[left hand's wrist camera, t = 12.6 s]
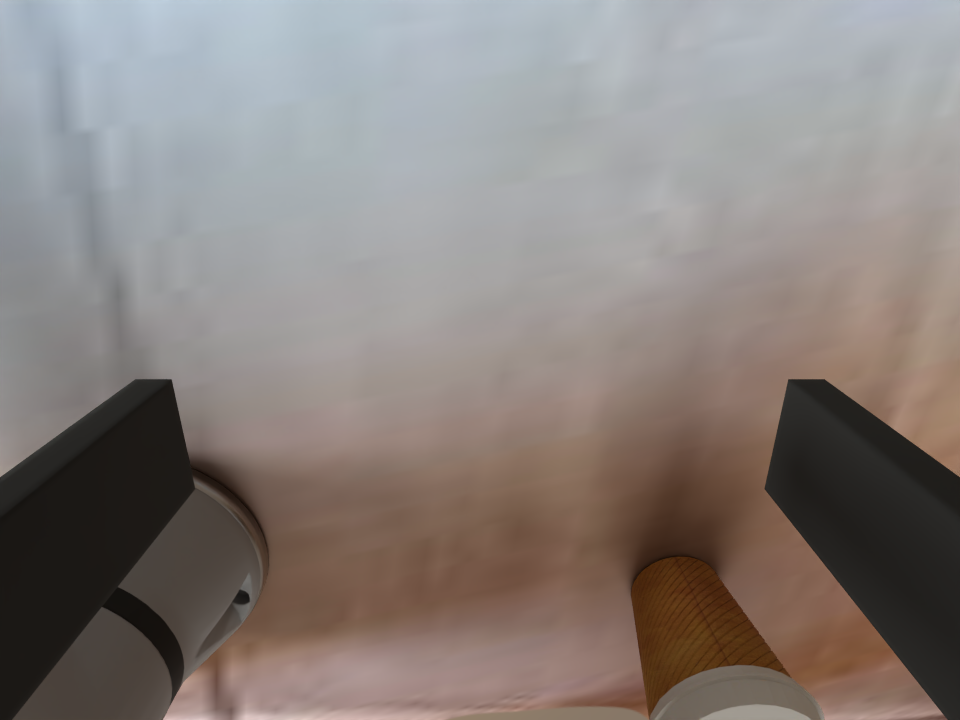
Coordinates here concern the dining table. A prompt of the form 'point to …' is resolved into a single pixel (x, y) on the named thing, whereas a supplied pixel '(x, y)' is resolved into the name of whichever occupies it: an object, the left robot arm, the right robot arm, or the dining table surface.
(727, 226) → the dining table surface
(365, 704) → the dining table surface
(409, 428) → the dining table surface
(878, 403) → the dining table surface
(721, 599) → the disposable coffee cup
